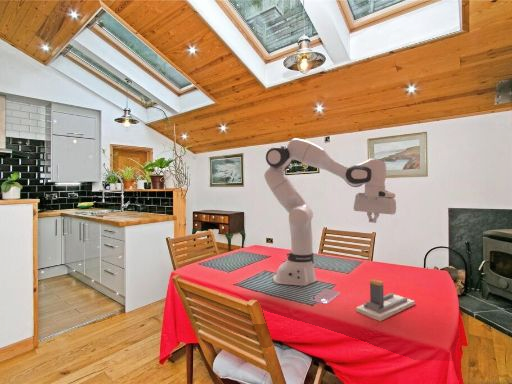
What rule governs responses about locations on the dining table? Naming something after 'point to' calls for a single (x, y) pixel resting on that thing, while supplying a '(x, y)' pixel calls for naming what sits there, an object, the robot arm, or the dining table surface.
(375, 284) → the switch tab
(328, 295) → the mobile phone
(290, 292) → the dining table surface
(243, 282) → the dining table surface
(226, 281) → the dining table surface
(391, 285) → the dining table surface
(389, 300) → the switch plate
